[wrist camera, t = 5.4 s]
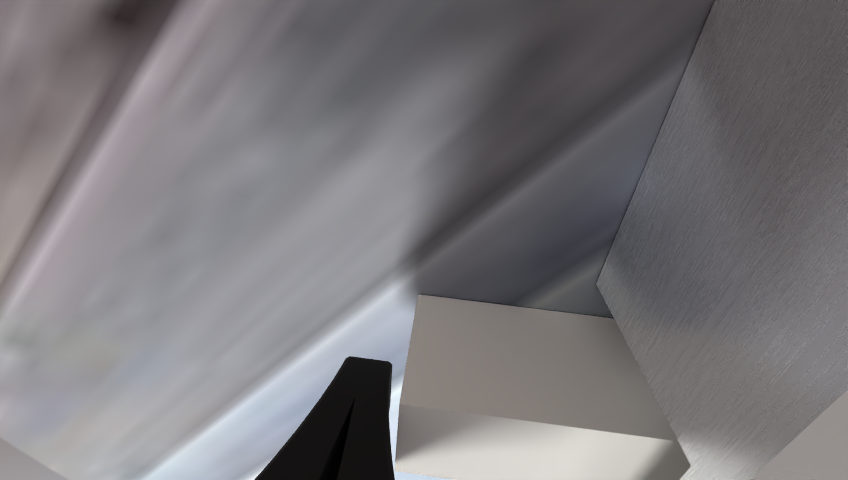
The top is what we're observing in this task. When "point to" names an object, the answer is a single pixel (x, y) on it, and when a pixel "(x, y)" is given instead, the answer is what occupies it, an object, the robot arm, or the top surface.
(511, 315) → the plug
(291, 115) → the top surface
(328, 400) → the robot arm
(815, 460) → the grey long block
